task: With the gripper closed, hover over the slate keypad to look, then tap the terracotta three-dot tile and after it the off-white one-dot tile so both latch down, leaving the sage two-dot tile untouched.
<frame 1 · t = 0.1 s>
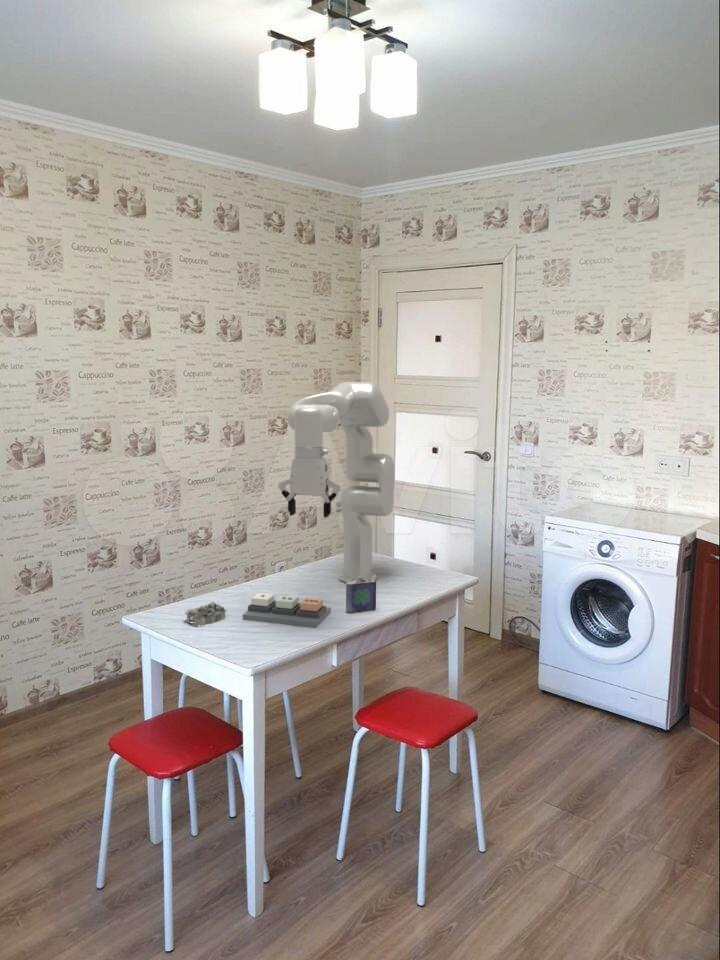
hand: (309, 515, 206), 31 cm above the table, tool pointing down, fingers open, 9 cm apart
tile 3: (311, 604, 215), point 4 cm above the table, slide at 0.0 cm
egg carton: (206, 621, 215), on the table
keypad board: (287, 615, 218), on the table
flask: (360, 611, 223), on the table
tile 2: (287, 601, 217), point 4 cm above the table, slide at 0.0 cm
tile 1: (263, 599, 219), point 4 cm above the table, slide at 0.0 cm
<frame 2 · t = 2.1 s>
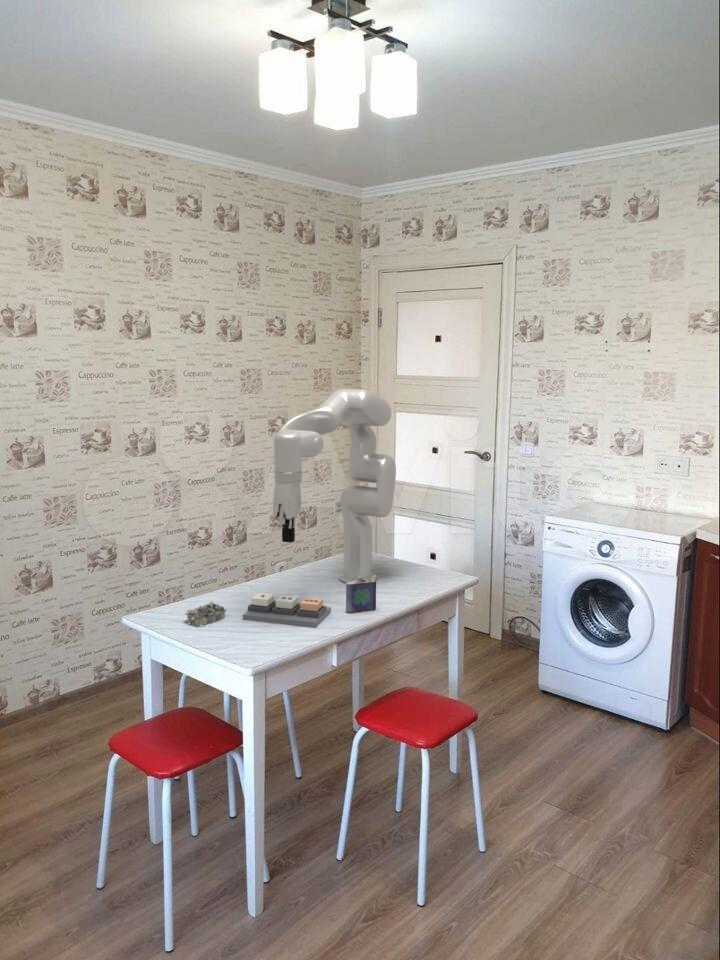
hand: (288, 541, 214), 22 cm above the table, tool pointing down, fingers closed
nothing on the table moved.
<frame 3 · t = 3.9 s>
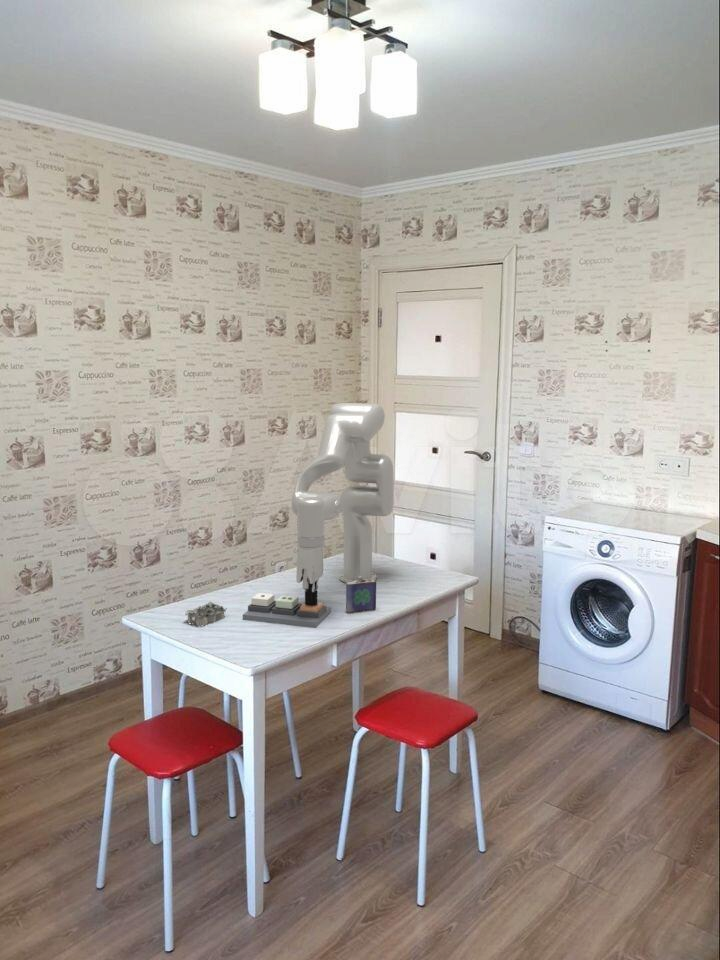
hand: (311, 604, 215), 4 cm above the table, tool pointing down, fingers closed
tile 3: (311, 607, 215), point 3 cm above the table, slide at 1.1 cm, touching gripper
everything else where it was.
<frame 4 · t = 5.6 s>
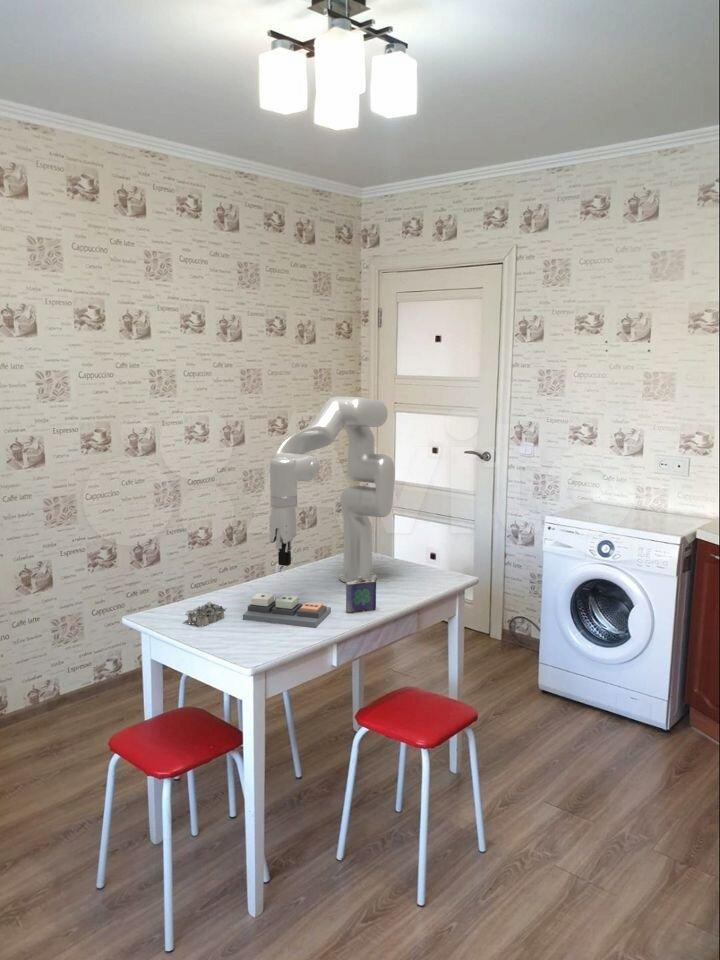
hand: (284, 564, 215), 15 cm above the table, tool pointing down, fingers closed
tile 3: (311, 608, 215), point 3 cm above the table, slide at 1.4 cm
everything else where it was.
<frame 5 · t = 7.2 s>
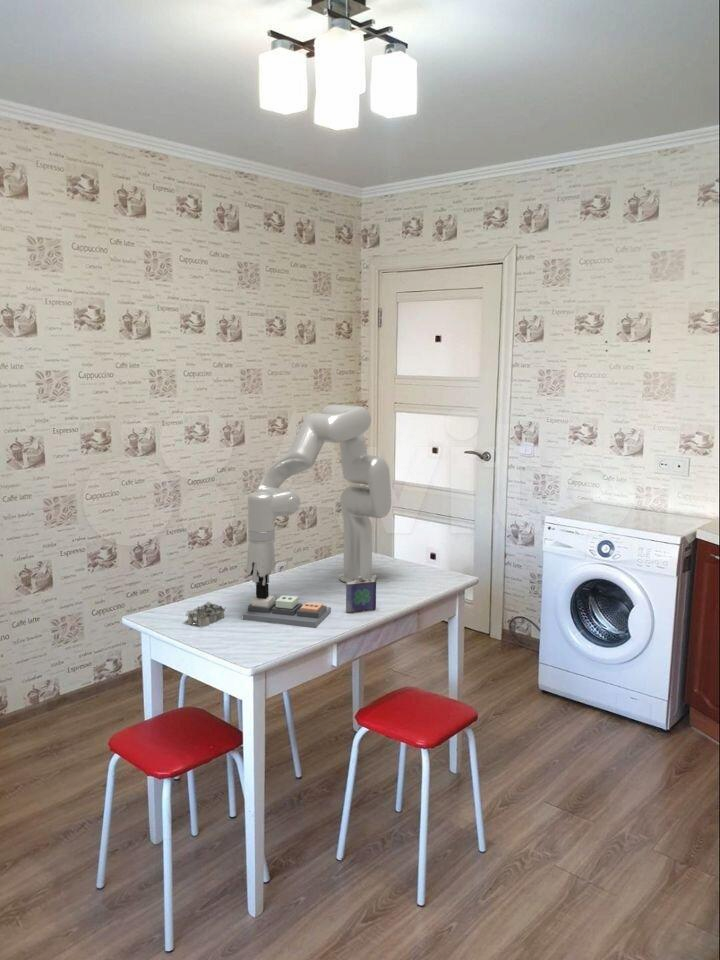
hand: (262, 597, 219), 5 cm above the table, tool pointing down, fingers closed
tile 1: (263, 600, 219), point 4 cm above the table, slide at 0.5 cm, touching gripper
everything else where it was.
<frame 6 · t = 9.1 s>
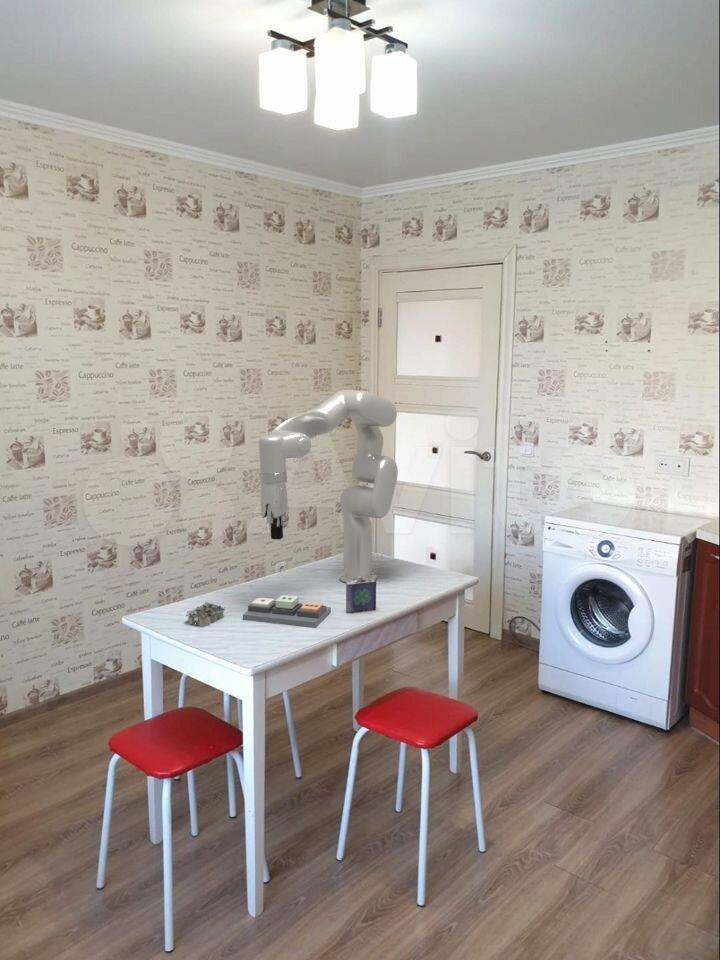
hand: (277, 538, 223), 21 cm above the table, tool pointing down, fingers closed
tile 1: (263, 603, 220), point 3 cm above the table, slide at 1.4 cm
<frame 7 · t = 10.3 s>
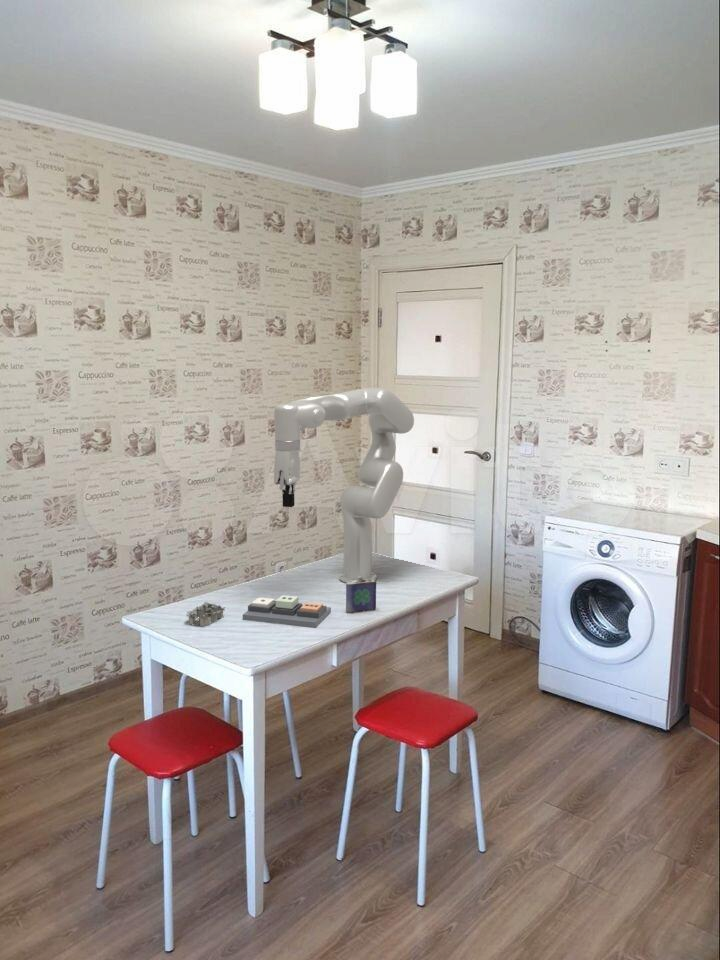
hand: (288, 506, 228), 29 cm above the table, tool pointing down, fingers closed
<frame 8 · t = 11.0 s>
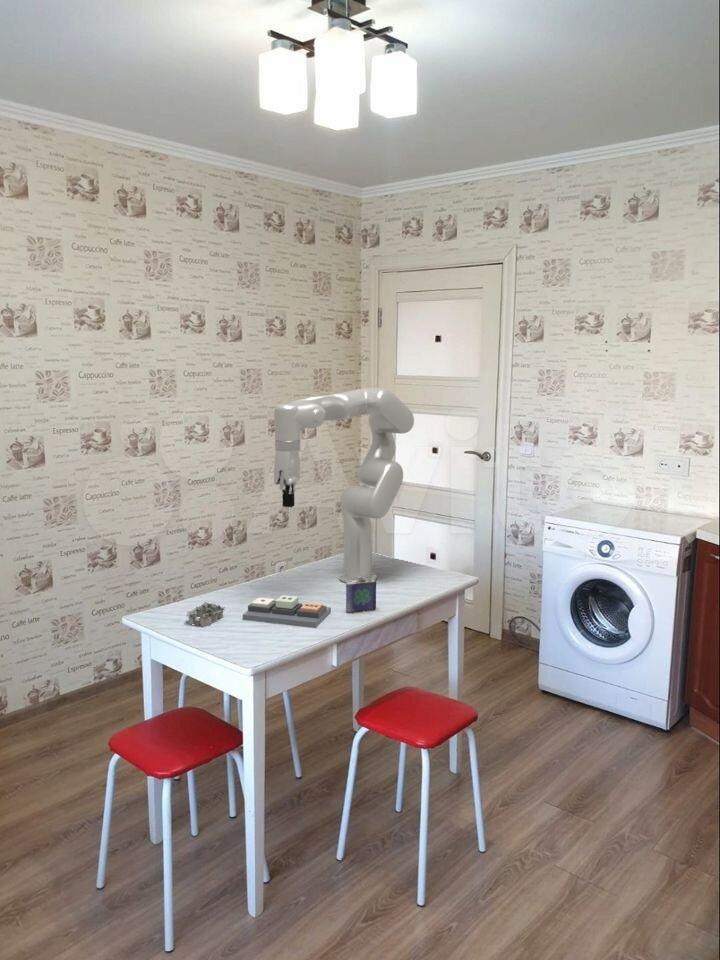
hand: (288, 506, 228), 29 cm above the table, tool pointing down, fingers closed
at the end: tile 3 slide at 1.4 cm; tile 1 slide at 1.4 cm; tile 2 slide at 0.0 cm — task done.
